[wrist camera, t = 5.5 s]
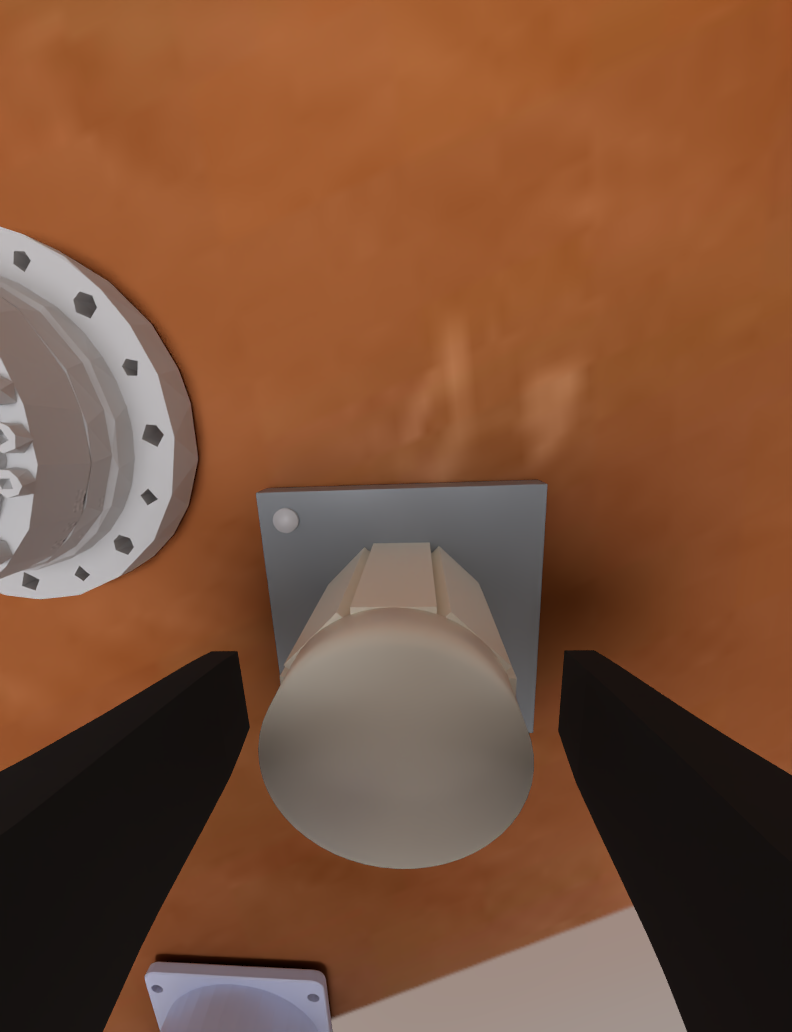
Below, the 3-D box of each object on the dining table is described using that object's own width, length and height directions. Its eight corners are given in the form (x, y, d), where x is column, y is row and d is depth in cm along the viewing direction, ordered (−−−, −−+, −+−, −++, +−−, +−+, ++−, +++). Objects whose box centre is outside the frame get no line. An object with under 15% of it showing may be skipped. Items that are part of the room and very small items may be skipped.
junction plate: (525, 713, 13) (574, 843, 9) (295, 711, 13) (243, 833, 9) (537, 479, 11) (607, 511, 7) (267, 488, 11) (186, 522, 7)
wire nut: (479, 683, 11) (526, 874, 7) (333, 681, 12) (273, 863, 7) (483, 541, 10) (542, 644, 5) (321, 543, 11) (240, 644, 6)
